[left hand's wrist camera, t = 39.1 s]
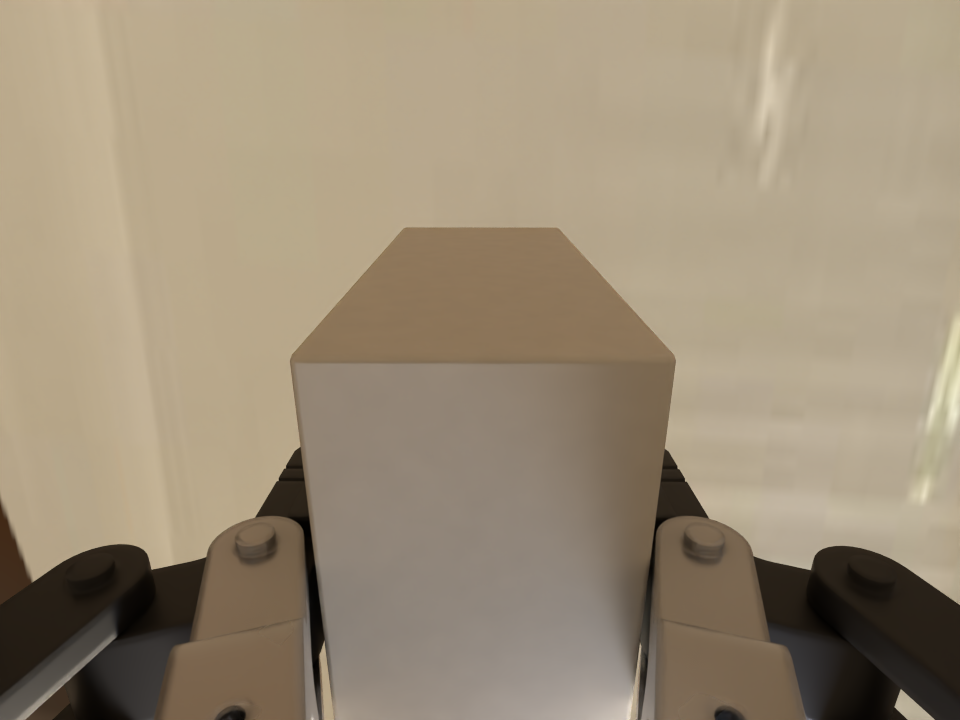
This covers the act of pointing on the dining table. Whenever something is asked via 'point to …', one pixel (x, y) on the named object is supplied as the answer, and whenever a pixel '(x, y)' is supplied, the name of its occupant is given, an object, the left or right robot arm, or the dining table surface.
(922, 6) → the dining table surface
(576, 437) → the brick
